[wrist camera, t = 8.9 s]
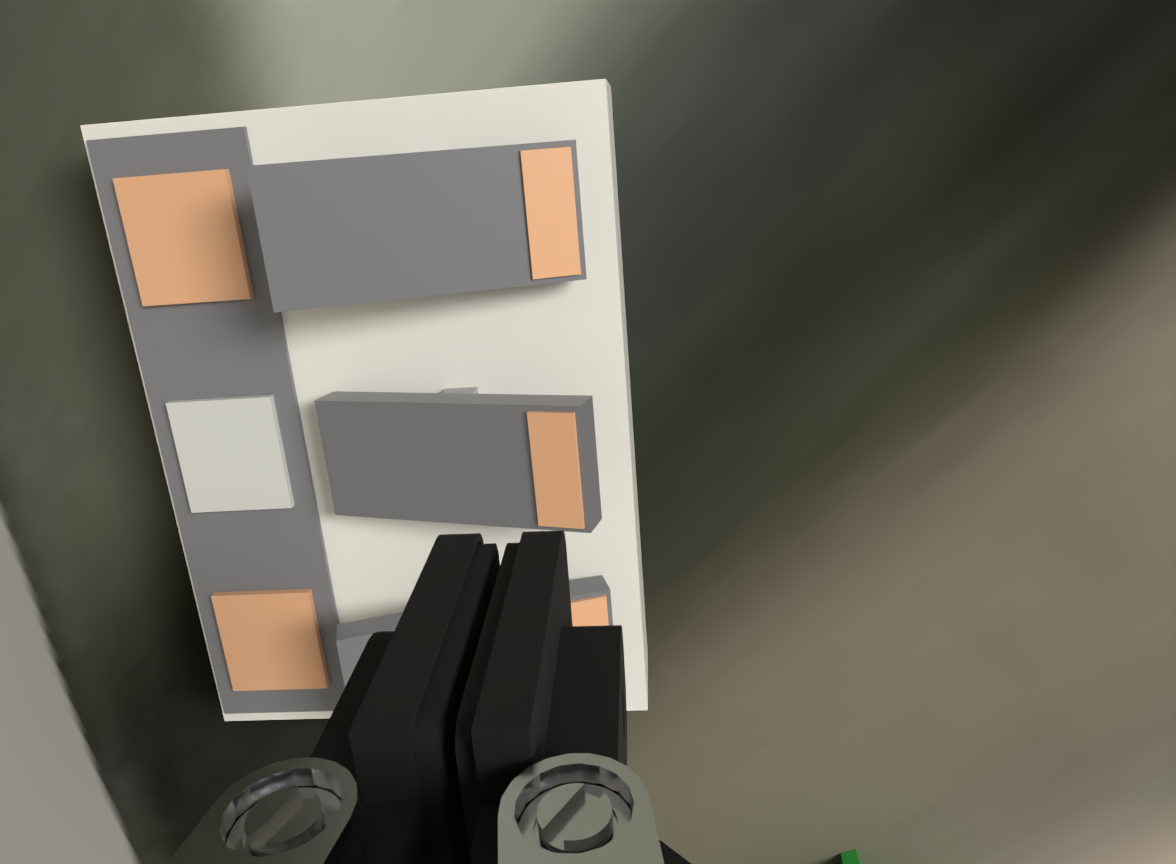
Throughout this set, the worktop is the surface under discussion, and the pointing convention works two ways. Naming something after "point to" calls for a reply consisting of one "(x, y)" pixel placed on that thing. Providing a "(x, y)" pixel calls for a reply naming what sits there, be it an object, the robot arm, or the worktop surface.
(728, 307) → the worktop surface
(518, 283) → the block
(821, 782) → the worktop surface
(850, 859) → the pipe clamp
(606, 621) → the rocker
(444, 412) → the rocker
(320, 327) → the switch unit
